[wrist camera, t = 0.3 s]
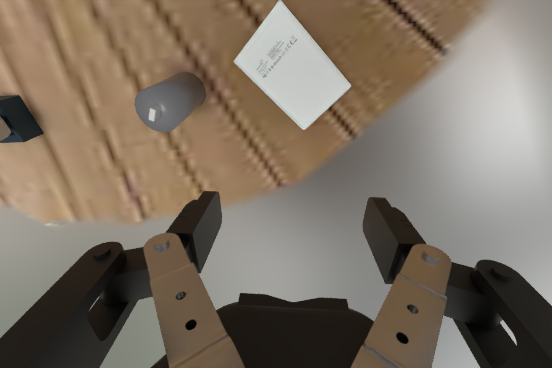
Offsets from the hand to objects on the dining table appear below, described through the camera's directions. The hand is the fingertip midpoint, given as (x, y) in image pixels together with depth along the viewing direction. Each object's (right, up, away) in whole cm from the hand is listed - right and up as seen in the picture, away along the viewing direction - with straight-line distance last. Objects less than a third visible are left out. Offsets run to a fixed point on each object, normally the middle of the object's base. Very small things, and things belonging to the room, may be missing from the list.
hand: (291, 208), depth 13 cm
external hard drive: (+1, +16, +17) cm, 23 cm away
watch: (-38, +11, +21) cm, 45 cm away
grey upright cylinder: (-12, +14, +18) cm, 26 cm away
